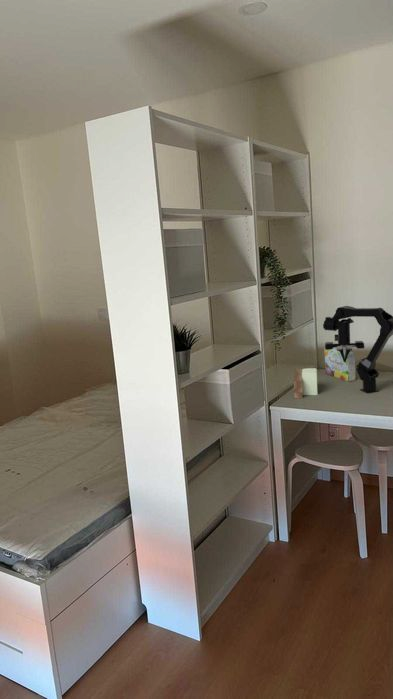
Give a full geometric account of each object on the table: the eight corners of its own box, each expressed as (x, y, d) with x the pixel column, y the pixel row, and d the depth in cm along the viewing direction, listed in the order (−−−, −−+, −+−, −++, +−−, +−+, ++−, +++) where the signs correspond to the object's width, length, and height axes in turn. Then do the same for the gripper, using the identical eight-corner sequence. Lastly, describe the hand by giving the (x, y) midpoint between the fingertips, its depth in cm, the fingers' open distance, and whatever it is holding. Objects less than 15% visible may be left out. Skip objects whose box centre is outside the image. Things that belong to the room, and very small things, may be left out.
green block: (317, 389, 273) (316, 368, 271) (317, 394, 263) (316, 373, 261) (303, 389, 274) (302, 368, 272) (302, 395, 265) (302, 373, 263)
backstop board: (303, 386, 279) (302, 369, 277) (302, 398, 260) (302, 380, 258) (295, 386, 280) (294, 370, 278) (294, 398, 261) (293, 380, 259)
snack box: (324, 373, 301) (323, 347, 298) (333, 372, 302) (332, 346, 299) (347, 382, 281) (346, 354, 278) (356, 380, 283) (356, 352, 280)
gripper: (361, 327, 273) (362, 357, 276) (324, 329, 276) (325, 358, 280) (364, 331, 262) (364, 362, 265) (324, 333, 266) (325, 364, 269)
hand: (344, 362), depth 270 cm, fingers closed
